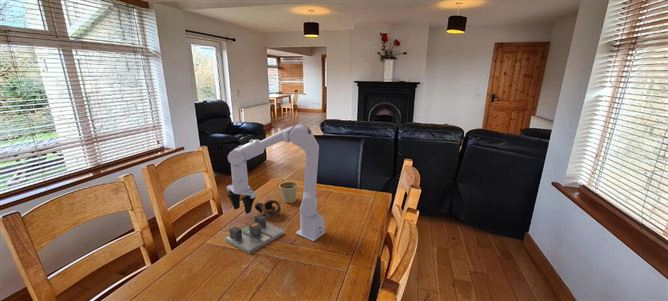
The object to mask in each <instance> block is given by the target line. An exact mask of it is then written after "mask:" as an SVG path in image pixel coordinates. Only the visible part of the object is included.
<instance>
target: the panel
mask: <svg viewBox="0 0 668 301" xmlns="http://www.w3.org/2000/svg"><path fill="white" fill-rule="evenodd" d="M254 223H258V225H260V226H261V234H260V235H258V236H254V235H252V234H250V233H249V225H248V226H245V227H244V228H242V229H241V228H240V227H237V226H235V225H234V226H233V227H230V228H229V229H228V230H229V231H228V232H229V235H228V236H226V237H225V242H227V243H229V244H230V245H233V246H234V247H236V248H238V249H240V250H241V251H243V252H245V253H247V254H249V255H251V254H252V253H254V252H255V251H257V250H259V249H261V248H263V247H264V246H265V245H267V244H269V243H270V242H272V241H274V240H276V239H277V238H279V237H282V235H284V234H285V230H284V229H282V228H280V227H278V226H275V225H273V224H270V223H268V222H267V219H266V216H264V215H262V214H257V215H255V216H254Z"/></svg>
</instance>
